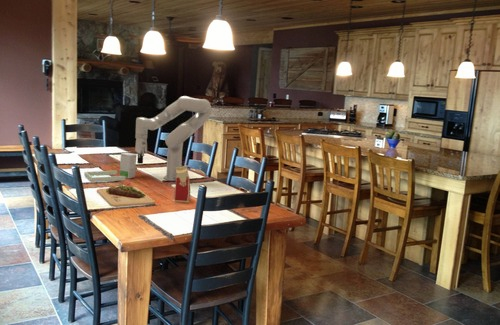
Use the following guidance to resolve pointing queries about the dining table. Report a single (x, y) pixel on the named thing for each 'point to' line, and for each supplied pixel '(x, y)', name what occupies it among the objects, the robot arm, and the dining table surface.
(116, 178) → the open-sided frame
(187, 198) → the milk carton
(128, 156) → the skincare box
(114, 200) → the cutting board
